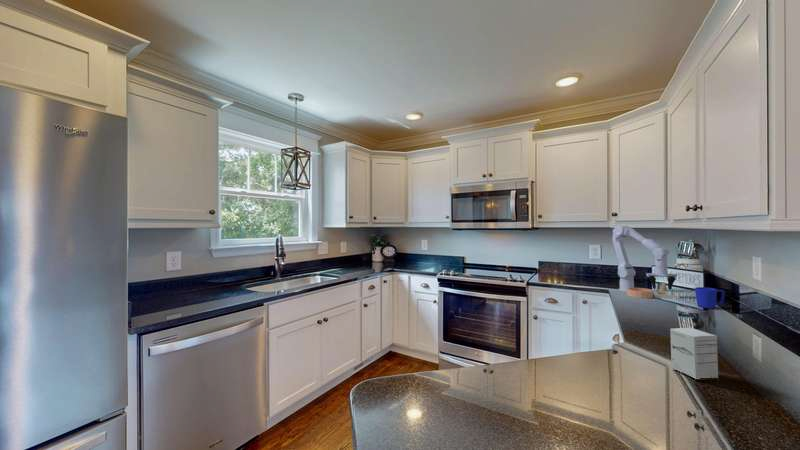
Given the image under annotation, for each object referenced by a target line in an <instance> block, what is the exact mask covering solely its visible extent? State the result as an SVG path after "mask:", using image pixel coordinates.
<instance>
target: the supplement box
mask: <svg viewBox="0 0 800 450" xmlns="http://www.w3.org/2000/svg"><path fill="white" fill-rule="evenodd" d="M669 331H670V332H669V333H670V358H671V359H670V360H671V361H670V362H671V363H670V364H671V369H672V368H674V369H676V370H678V371H680V372H683V373H685V374H687V375H689V376H691V377H693V378H695V379H700V378H718V379H719V365H718V364H719V362H718V359H719V358H718V335H716V334H712V333H708V332H706V331H703V330H700V329H696V328H693V327H679V328H678V327H677V328H670V330H669Z"/></svg>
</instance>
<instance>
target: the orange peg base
mask: <svg viewBox="0 0 800 450" xmlns="http://www.w3.org/2000/svg"><path fill="white" fill-rule="evenodd" d="M653 291H654V289H650V288H645V287H644V288H643V287H634V288H627V292H626V296H628V297H631V298H636V299H654V297H653Z"/></svg>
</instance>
